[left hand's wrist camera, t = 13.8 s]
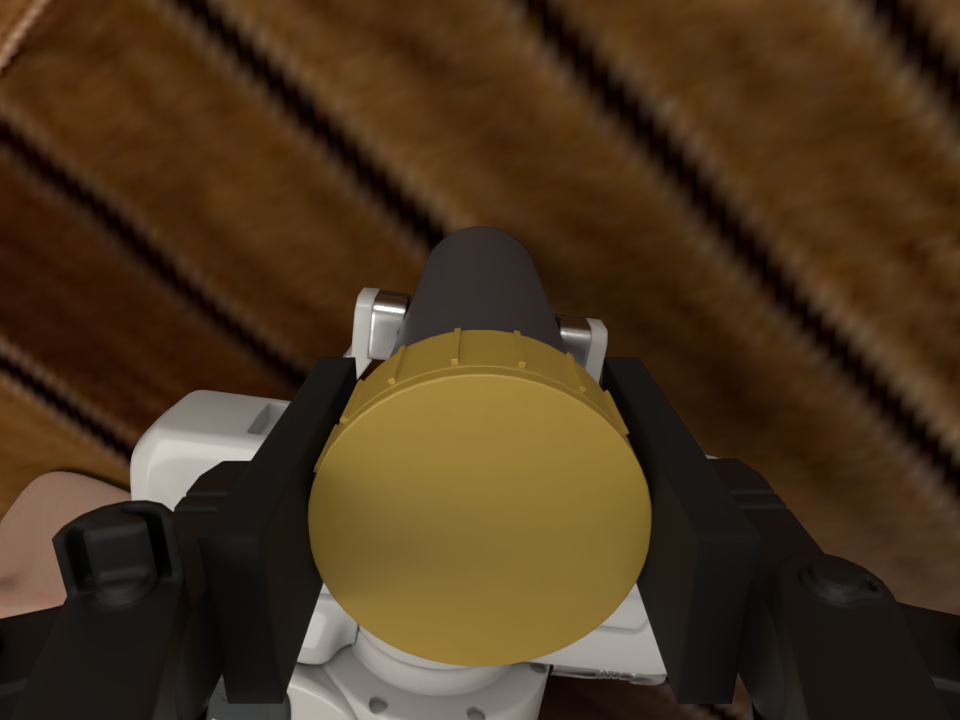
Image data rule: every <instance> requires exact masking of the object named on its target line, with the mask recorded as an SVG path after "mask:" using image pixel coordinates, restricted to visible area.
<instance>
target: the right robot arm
mask: <svg viewBox="0 0 960 720" xmlns="http://www.w3.org/2000/svg"><path fill="white" fill-rule="evenodd" d="M410 296H411V295H410V294H406V293H399V292H393V291H386V290H380V289H376V288H365V287H364V288H363V290H362V291H361V292H360V294H359V295H358V299H357V303H356V308H355V314H354V327H353V340H352V345H351V347H350V348H349V349H348V351H347V352H346V353H345V355H344V356H343V357H356V371H357V380H358V378H359V377H360V376H361V374H362V373H363V372H364V370H365V369H366V368H367V366H368V365H369V364H370V362H371V361H372V360H373V359H380V360H387V359H389V357H390V355H391V352H392V350H393V347H394V345H395V342H396V339H397V337H398V334H399V332H400V329H401V326H402V324H403V321H404V319H405V316H406V314H407V311H408V308H409V306H410ZM555 320H556V323H557V325H558V328H559V330H560V333H561V335H562V338H563V341H564V343H565V346H566V348H567V351H568V352H569V353H570V354H572V355H573V357H574V360H575V362H576V363H578V364H579V365H580V366H581V367H582V368H583V369H584V370H585V371H586V372H587V373H588V374H589V375H590V376H591V377H592V378H593V379H594V380H595V381H596V382H597V383H598V385H599V379H600V375H601V370H602V366H603V361H604V357H605V352H606V348H607V338H608V333H607V329H606V327H605V326H604V324H603V322H602V321H601V320H597V319H590V318H583V317H575V316H567V315H559V314H556V315H555ZM290 402H291V401H285V400H277V399H269V398H262V397H254V396H246V395H239V394H231V393H223V392H216V391H208V390H198V391H194V392H192V393H190V394H188V395H187V396H185V397H184V398H183V399H182V400H180V401H179V402H178V403H177V404H175V405H174V406H173V407H171V408H170V409H169V410H168V411H166V412H165V413H164V414H163V415H162V416H161V417H160V418H158V420H157V421H156V422H155V423H154V424H153V425H152V426H151V427H150V428H149V429H148V430H147V431H146V432H145V433H144V435H143V436H142V437H141V439H140V440H139V442H138V443H137V445H136V447H135V449H134V451H133V454H132V458H131V468H130V483H131V499H132V501H134V500H149V501H154V502H159V503H163V504H164V505H165V506H167V507H168V508H169V509H170V510H172V512H174V507H175V506H176V505H177V504H178V502H179V501H180V500H181V499H182V497H186V492H187V491H188V490H189V489H190V487H191V486H192V485H193V484H194V482H195V481H196V480H197V479H198V477H199V476H200V475H202V474H203V473H205V472H206V471H208V470H209V469H211V468H213V467H214V466H216V465H217V464H219V463H220V462H222V461H251V459H252V458H253V456H254V455H255V454H256V452H257V451H258V449H259V448H260V446H261V445H262V443H263V442H264V440H265V439H266V437H267V436H268V434H269V433H270V432H271V430H272V429H273V427H274V426H275V424H276V423H277V421H278V420H279V418H280V417H281V415H282V414H283V412H284V411H285V409H286V408H287V407H288V405H289V404H290ZM705 456H706V457H707V459H719V458H717V457H714V456H709V455H705ZM549 674H550V675H555V676H564V677H573V678H582V679H603V678H604V679H618V680H627V681H628V682H629V683H633V684H637V685H659V684H662V683H664V681H665V678H666V676H668V675H667V673H666V670H665V667H664V664H663V661H662V658H661V655H660V652H659V649H658V646H657V643H656V640H655V637H654V634H653V631H652V628H651V625H650V623H649V620H648V617H647V614H646V611H645V608H644V605H643V602H642V599H641V596H640V593H639V590H638V587H637V584H636V583H635V585H634V586H633V588H632V589H631V591H630V593H629V594H628V596H627V597H626V598H625V600H624V601H623V602H622V603H621V605H620V606H619V607H618V608H617V609H616V611H615V612H614V613H613V614H612V615H611V616H609V617H608V618H607V619H606V620H605V621H604V622H603V623H602V624H601V625H600V626H598V627H597V628H596V629H594V630H593V631H592V632H590V633H589V634H588V635H586V636H585V637H583V638H581V639H580V640H578V641H576V642H574V643H573V644H571V645H569V646H567V647H565V648H563V649H560V650H558V651H556V652H554V653H551V654H549V655H546V656H542V657H539V658H536V659H533V660H530V661H525V662H520V663H515V664H510V665H500V666H490V667H478V666H460V665H450V664H444V663H440V662H435V661H430V660H426V659H423V658H420V657H417V656H414V655H411V654H408V653H406V652H404V651H401V650H399V649H397V648H395V647H392V646H390V645H389V644H387V643H385V642H383V641H382V640H380V639H378V638H377V637H375V636H373V635H372V634H371V633H369V632H368V631H367V630H365V629H364V628H363V627H361V626H360V625H359V624H357V623H356V622H355V621H354V620H353V619H352V618H351V617H350V616H349V615H348V614H347V613H346V612H345V611H344V610H343V609H342V608H341V606H340V605H339V604H338V603H337V601H336V600H335V599H334V598H333V596H332V595H331V593H330V592H329V590H328V588H327V587H326V585H325V583H323V586H322V589H321V592H320V595H319V598H318V601H317V604H316V607H315V610H314V613H313V616H312V618H311V621H310V624H309V627H308V630H307V633H306V636H305V639H304V642H303V645H302V648H301V651H300V654H299V657H298V660H297V663H296V665H295V668H294V671H293V674H292V677H291V680H290V683H289V686H288V689H287V692H286V695H285V698H284V701H283V704H228V702H227V697H226V691H225V686H224V680H223V675H221V677H220V679H219V681H218V684H217V686H216V688H215V690H214V692H213V694H212V696H211V699H210V701H209V704H210V709H211V714H212V720H537V719H538V715H539V711H540V706H541V702H542V698H543V694H544V689H545V685H546V681H547V677H548V675H549Z"/></svg>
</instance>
